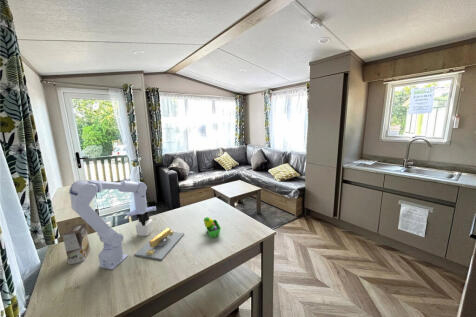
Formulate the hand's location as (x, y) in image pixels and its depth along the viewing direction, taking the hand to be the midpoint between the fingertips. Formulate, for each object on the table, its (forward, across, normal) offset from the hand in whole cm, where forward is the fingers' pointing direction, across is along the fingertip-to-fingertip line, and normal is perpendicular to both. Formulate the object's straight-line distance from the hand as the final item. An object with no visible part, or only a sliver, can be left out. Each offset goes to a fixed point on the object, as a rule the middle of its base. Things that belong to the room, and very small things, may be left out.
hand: (143, 225), depth 107 cm
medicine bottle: (+10, +1, +10) cm, 14 cm away
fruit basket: (+10, +36, -14) cm, 39 cm away
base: (+10, +7, -8) cm, 15 cm away
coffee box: (+11, -30, +4) cm, 32 cm away
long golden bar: (+8, +7, -8) cm, 13 cm away
